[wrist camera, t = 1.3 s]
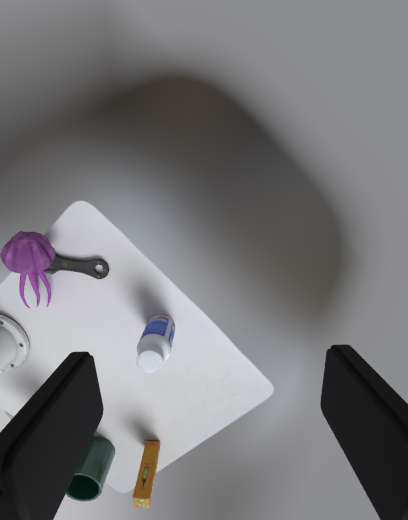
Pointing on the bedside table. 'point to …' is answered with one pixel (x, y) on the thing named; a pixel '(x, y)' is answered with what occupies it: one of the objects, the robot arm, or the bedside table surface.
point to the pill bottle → (155, 343)
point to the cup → (92, 470)
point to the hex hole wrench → (78, 266)
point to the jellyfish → (29, 259)
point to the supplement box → (146, 475)
